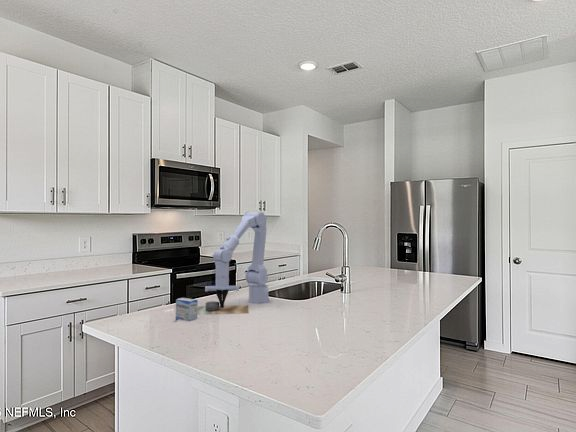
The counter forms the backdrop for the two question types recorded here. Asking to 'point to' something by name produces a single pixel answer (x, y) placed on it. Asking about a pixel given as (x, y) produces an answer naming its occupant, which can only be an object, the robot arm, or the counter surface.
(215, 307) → the puck
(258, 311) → the counter surface
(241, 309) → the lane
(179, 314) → the medicine box
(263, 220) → the robot arm
